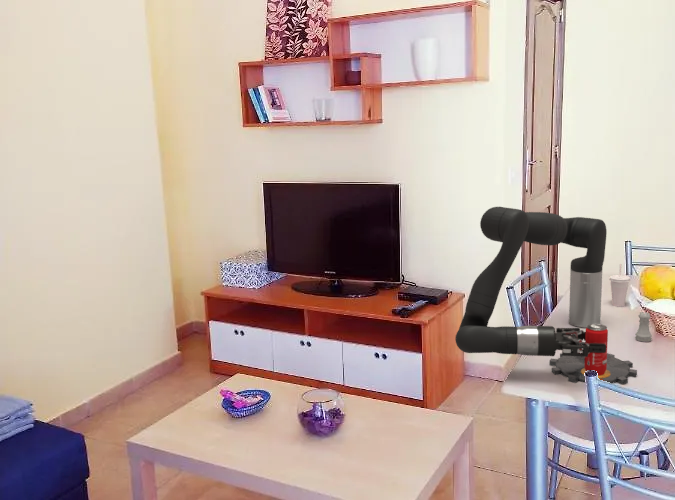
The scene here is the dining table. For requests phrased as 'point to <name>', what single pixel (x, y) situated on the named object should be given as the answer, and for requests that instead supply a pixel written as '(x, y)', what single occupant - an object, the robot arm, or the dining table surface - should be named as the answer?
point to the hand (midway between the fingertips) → (602, 342)
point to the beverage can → (596, 360)
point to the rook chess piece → (644, 328)
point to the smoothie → (619, 288)
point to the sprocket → (575, 370)
